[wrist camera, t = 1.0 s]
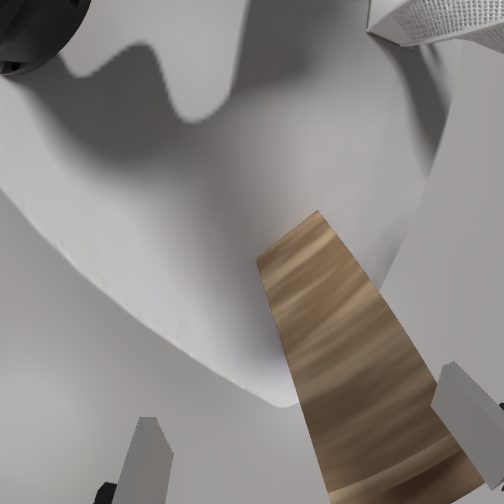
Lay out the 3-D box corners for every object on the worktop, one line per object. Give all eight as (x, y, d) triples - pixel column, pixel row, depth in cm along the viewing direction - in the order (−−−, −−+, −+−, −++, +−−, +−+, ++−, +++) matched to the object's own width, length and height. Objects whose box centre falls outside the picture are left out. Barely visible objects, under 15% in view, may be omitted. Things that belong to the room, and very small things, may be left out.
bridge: (255, 259, 37) (332, 509, 13) (317, 210, 35) (468, 443, 10) (304, 303, 44) (380, 491, 19) (357, 263, 41) (467, 444, 17)
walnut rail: (265, 525, 17) (273, 557, 14) (538, 383, 11) (558, 420, 7) (289, 520, 19) (296, 549, 16) (529, 392, 13) (546, 424, 10)
